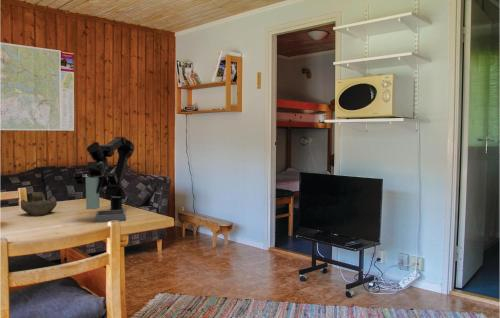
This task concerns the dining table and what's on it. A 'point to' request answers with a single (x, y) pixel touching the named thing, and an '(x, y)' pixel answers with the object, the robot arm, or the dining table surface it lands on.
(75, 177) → the robot arm
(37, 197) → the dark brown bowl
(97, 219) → the tray
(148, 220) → the dining table surface
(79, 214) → the dining table surface
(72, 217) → the dining table surface
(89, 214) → the dining table surface
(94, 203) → the block
